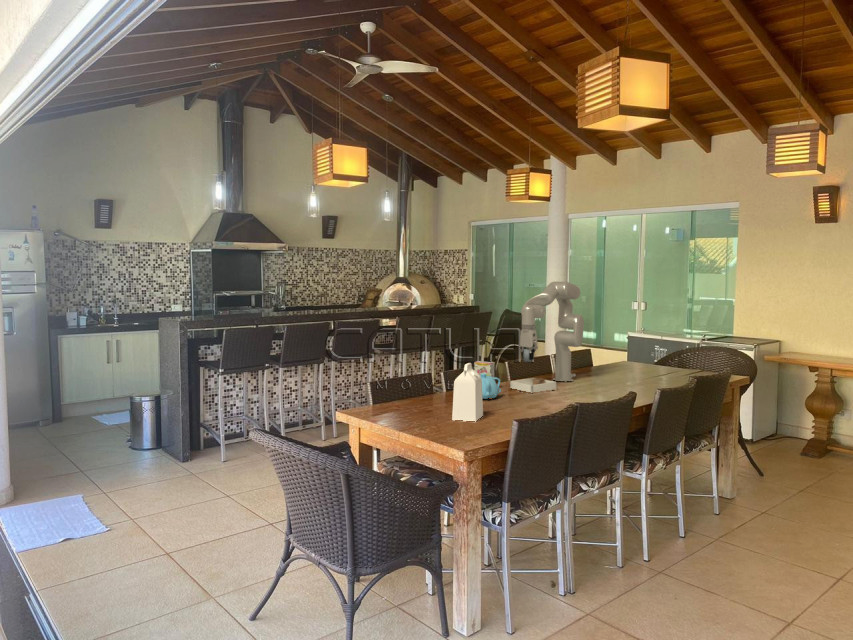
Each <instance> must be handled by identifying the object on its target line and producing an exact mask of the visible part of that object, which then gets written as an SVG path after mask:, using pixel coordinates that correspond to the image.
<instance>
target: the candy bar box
mask: <svg viewBox="0 0 853 640" xmlns="http://www.w3.org/2000/svg"><path fill="white" fill-rule="evenodd" d="M473 364H474V365H473V366H474V367H473V370H474V371H475V372H476V373H477V374H478V375H479V376H481V374H482V373H484V374H486V376H491V377H493V378H495V366H496V365H495V364H496V363H495V362H492V361H481V360H477V361H474V362H473Z"/></svg>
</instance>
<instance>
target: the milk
mask: <svg viewBox="0 0 853 640" xmlns="http://www.w3.org/2000/svg"><path fill="white" fill-rule="evenodd" d="M452 397H453V398H452V418H451V420H452V421H455V420H463V421H462V422H466V421H475V422H474V423H477V422H478V421H479V420H480V419H479V418H481V417H482V416H483V417H484V407H483V406H484V405H483V401H484V400H483V399H482V379H481V377H480V376H479V375H478V374H477V373H476V372H475V371H474V368H473V366H472V363H471V362H468V363H466V364H464V367H463V372H462V373H460V374H459V375H458V376H457V377H456V378H455V380H454V382H453V395H452ZM483 417H482V418H483ZM482 418H481V419H482ZM478 419H479V420H478ZM477 420H478V421H477ZM476 421H477V422H476Z"/></svg>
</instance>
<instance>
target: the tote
mask: <svg viewBox="0 0 853 640" xmlns="http://www.w3.org/2000/svg"><path fill="white" fill-rule="evenodd" d="M535 378H536V377H530V378H523V379H522V378H521V379H516V380H509V389H510V388H512V389H517V390H521V391H526V392H531V393H533V392H540V391H546V390H552V389H557V388H558V387H557V386H558V382H556V381H553V380H549V379H545V383H543V384H537V385H533V379H535Z"/></svg>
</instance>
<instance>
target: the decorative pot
mask: <svg viewBox="0 0 853 640" xmlns="http://www.w3.org/2000/svg"><path fill="white" fill-rule="evenodd" d="M480 377H481V379H482V400H483V399H484V400H485V399H486V400H488V398H493V399H495V398H497V396H498V394H500V393H501V392H502V389H501V388H500V386H501V385H500V384H501V379H500V378H498V377H496V376H494V378H493V377H491V376H486V374H484V373H482V374H481V376H480ZM496 380H497V381H498V382H497V383H496Z"/></svg>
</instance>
